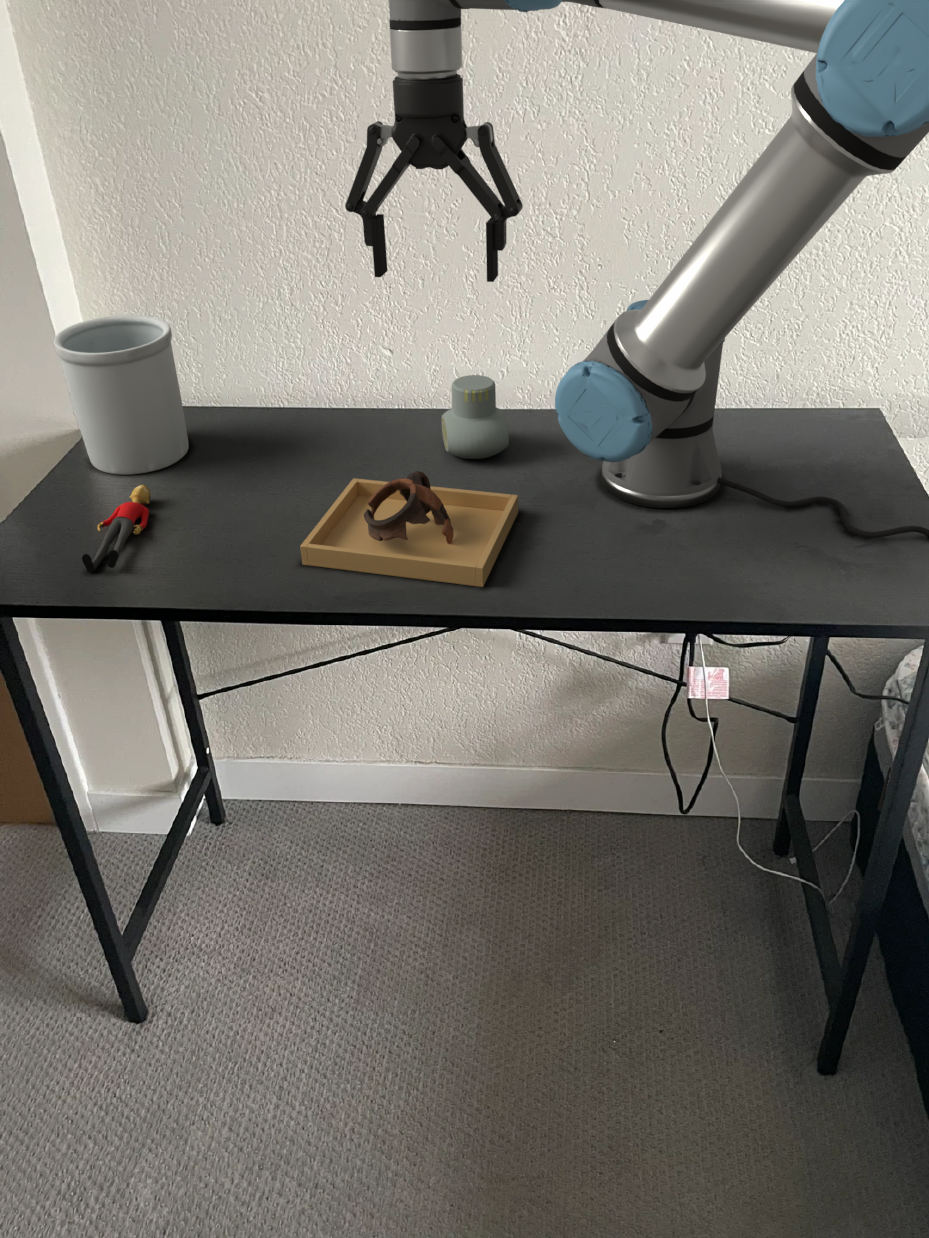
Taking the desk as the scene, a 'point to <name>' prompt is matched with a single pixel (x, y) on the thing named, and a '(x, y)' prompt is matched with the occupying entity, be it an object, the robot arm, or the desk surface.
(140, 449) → the utensil holder
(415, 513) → the broken clay pot
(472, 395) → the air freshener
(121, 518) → the person figure
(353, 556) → the tray
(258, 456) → the desk surface
